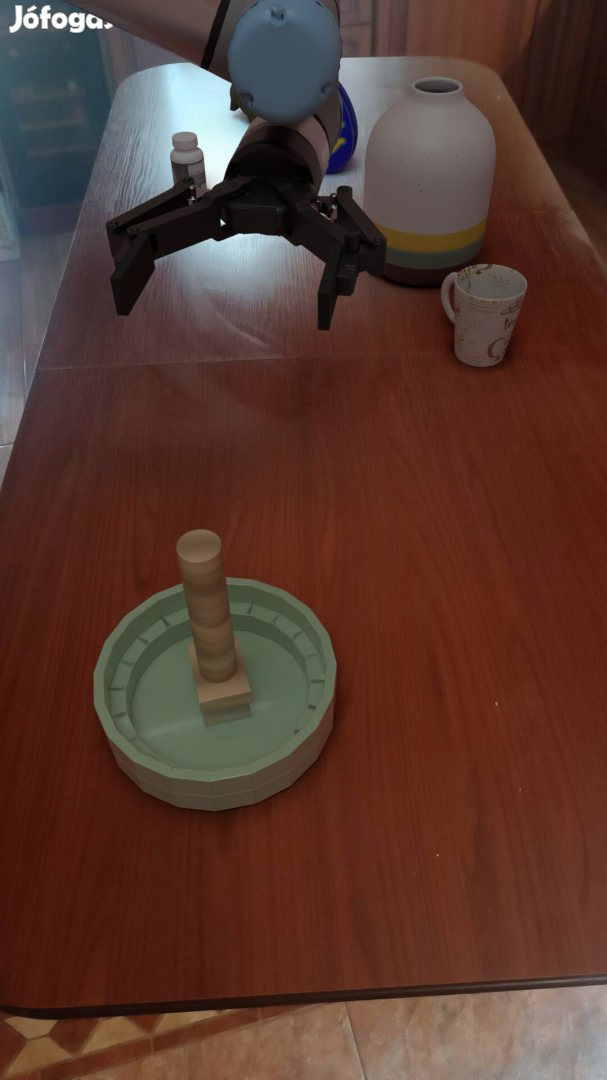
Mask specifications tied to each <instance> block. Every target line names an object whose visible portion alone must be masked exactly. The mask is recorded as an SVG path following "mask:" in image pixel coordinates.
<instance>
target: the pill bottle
mask: <svg viewBox="0 0 607 1080" xmlns="http://www.w3.org/2000/svg"><path fill="white" fill-rule="evenodd" d="M171 145H172V147H173V149H172V150H171V151H170V153H169V159H170V160H169V161H170V167H171V175H172V183H173V186H174V185H175V184H176V183H177V182H178V180H179V179H181V178H183V177H192V178H194V181H195V186H196V188H201V189H208V183H207V175H206V165H205V154H204V151H203V150H202V149H201V148H200V147H198V146H199V141H198V135H197V133H195V132H193V131H178V132H176V133H173V134H172V136H171Z"/></svg>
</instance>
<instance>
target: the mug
mask: <svg viewBox="0 0 607 1080" xmlns="http://www.w3.org/2000/svg"><path fill="white" fill-rule="evenodd" d="M452 286H453V290H454V291H453V301H454V302H453V307H454V308H453V309H452V306H451V302H450V291H451V288H452ZM527 291H528V281H527V279H526V277H525V276H524V275H522V273H520V271H517V270H516V269H513V268H511V267H509V266H504V265H501V264H494V263H493V264H492V263H480V264H473V265H472V266H470V267H467V268H464V269H463V270H461V271H460V272H459V273H457V272H453V273H451V274H449V275H448V276H447V277H446V278H445V280H444V282H443V283H442V284H441V288H440V299H441V300H440V301H441V304H442V307H443V310H444V312H445V314H446V316H447V317H448V319H449V320H450V321H451V323H452V324H453V325H454V326H453V328H454V329H453V330H454V332H453V334H454V339H453V340H454V345H453V346H454V355H455V357H456V358H457V359H458V360H459V361H460V362H462V363H464V364H466V365H469V366H473V367H478V368H479V367H480V368H482V367H483V368H485V367H491V366H495V365H497V364H498V363H500V362H501V361H503V359H504V356H505V354H506V351H507V348H508V345H509V343H510V340H511V337H512V333H513V331H514V328H515V325H516V322H517V319H518V317H519V313H520V312H521V311H520V310H521V308H522V305H523V303H524V299H525V297H526V294H527Z"/></svg>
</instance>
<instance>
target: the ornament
mask: <svg viewBox="0 0 607 1080" xmlns="http://www.w3.org/2000/svg"><path fill="white" fill-rule="evenodd" d="M339 93H340V95H341V99H342V104H343V116H342V129H341V134H340V136H339V137H338V139H337V141H338V142H337V144H336V145H335V147H334V149H333V152H332V154H331V157H330V160H329V162H328V167H327V169H326V172H325V175H326V174H327V175H328V174H333V173H335V172H338V171H340V170H342V169H343V168H345V167H346V166H347V164H349V163H350V161H351V160H352V158H353V156H354V155H355V152H356V149H357V145H358V137H359V125H358V120H357V115H356V111H355V109H354V106H353V103H352V101H351V98H350V97H349V94H348V92H347V90H346V89H345V87H344V85H343V84H342V83H341V82H340V81H339Z"/></svg>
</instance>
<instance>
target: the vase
mask: <svg viewBox="0 0 607 1080" xmlns="http://www.w3.org/2000/svg"><path fill="white" fill-rule="evenodd" d="M364 158H365V159H364V177H363V201H362V203H363V205H362V210H363V211H364V212H365V214H366V215H367V216H368V217H369V218H370V220H371V221H372V222H373V223H374V224H375V226H376V227H377V228H378V229H379V230H380V231H381V233H382V234H383V235H384V236H385V237H386V239H387V247H386V263H385V273H384V274H383V275H382V276H383V277H386V279H389V280H391V281H394V282H397V283H400V284H405V285H409V286H420V287H421V286H425V287H426V286H437V285H442V284H443V282H444V280H445V278H446V277H447V276H448V275H449V274H451V273H453V272H457V273H459V272H460V271H461V270H463V269H464V268H467V267H470V266H473V265H475V262H476V261H477V259H478V257H479V255H480V252H481V250H482V246H483V243H484V238H485V234H486V233H485V232H486V226H487V222H488V216H489V209H490V204H491V203H490V202H491V195H492V191H493V190H492V189H493V182H494V177H495V169H496V162H497V161H496V160H497V144H496V137H495V134H494V129H493V128H492V125H491V123H490V122H489V120H488V119H487V118H486V116H485V114H484V113H482V112H481V111H480V109H479V108H477V106H475V105H474V104H473V103H472V102H470V100H468V99H467V97H466V96H465V94H464V85H463V83H462V82H461V81H459V80H458V79H454V78H450V77H445V76H427V77H422V78H418V79H416V80H414V81H412V82H411V84H410V88H409V92H408V94H407V95H405V96H404V97H402V99H400V100H398V101H397V102H396V103H395V104H393V105H392V106H390V107H389V108H388V109H387V110H386V111H385V112H383V114H381V116H380V117H379V118H378V119H377V121H376V122H375V123H374V125H373V127H372V130H371V131H370V134H369V137H368V140H367V144H366V150H365V156H364Z"/></svg>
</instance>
